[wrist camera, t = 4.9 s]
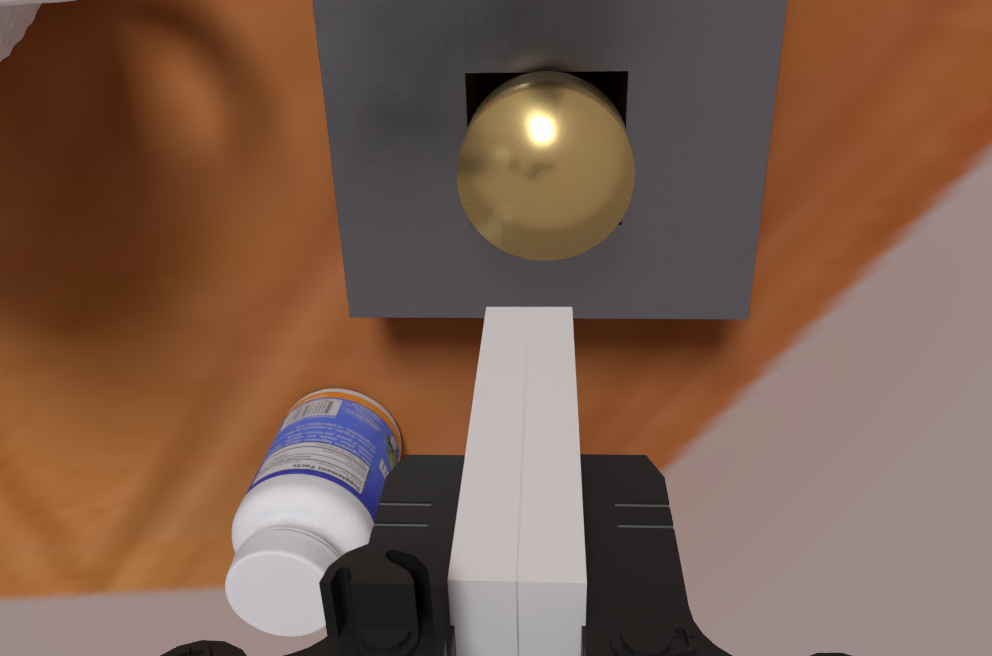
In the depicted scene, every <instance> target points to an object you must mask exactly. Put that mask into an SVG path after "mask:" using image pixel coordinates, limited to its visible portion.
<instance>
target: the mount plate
mask: <svg viewBox="0 0 992 656" xmlns="http://www.w3.org/2000/svg"><path fill="white" fill-rule="evenodd" d="M313 9H314V17H315V26H316V34H317V43H318V51H319V60H320V68H321V77H322V85H323V93H324V102H325V110H326V119H327V127H328V136H329V144H330V153H331V161H332V170H333V178H334V187H335V195H336V204H337V212H338V221H339V229H340V238H341V246H342V255H343V263H344V272H345V280H346V289H347V297H348V306H349V314H350V317H380V318H485V311H486V307H572V311H573V319H748V314H749V306H750V298H751V290H752V282H753V274H754V266H755V258H756V250H757V242H758V234H759V226H760V218H761V210H762V201H763V193H764V185H765V177H766V169H767V161H768V153H769V145H770V137H771V129H772V121H773V113H774V105H775V97H776V89H777V81H778V73H779V65H780V57H781V49H782V41H783V33H784V25H785V17H786V9H787V0H313ZM540 71H555V72H587V71H619V82H618V107H617V110H618V112H619V114H620V116H621V118H622V120H623V122H624V125H625V129H626V132H627V136H628V139H629V143H630V147H631V151H632V155H633V160H634V166H635V181H634V190H633V194H632V197H631V201H630V203H629V206H628V208H627V211H626V213H625V214H624V216H623V218H622V220H621V221H620V223H619V224H618V225H617V227H616V228H615V229H614V230H613V231H612V232H611V233H610V234H609V235H608V236H607V237H606V238H605V239H604V240H603V241H601V242H600V243H599V244H598V245H596V246H594V247H593V248H591V249H589V250H588V251H585V252H583V253H581V254H579V255H576V256H573V257H569V258H565V259H560V260H551V261H539V260H530V259H525V258H521V257H518V256H514V255H512V254H509V253H507V252H505V251H503V250H501V249H499V248H498V247H496V246H495V245H493V244H492V243H490V242H489V241H488V240H487V239H485V238H484V237H483V236H482V235H481V234H480V233H479V232H478V231H477V230H476V228H475V227H474V226H473V224H472V223H471V222H470V220H469V218H468V216H467V215H466V213H465V211H464V208H463V206H462V203H461V201H460V197H459V193H458V187H457V164H458V157H459V154H460V151H461V147H462V144H463V141H464V138H465V135H466V132H467V129H468V126H469V124H470V121H471V119H472V117H473V115H474V113H475V112H476V110H477V108H478V102H477V74H476V73H513V72H540Z"/></svg>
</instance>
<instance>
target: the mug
mask: <svg viewBox="0 0 992 656" xmlns="http://www.w3.org/2000/svg"><path fill="white" fill-rule="evenodd" d="M67 1H75V0H0V61H1V60H3V59H4V58H6V57H8V56H9V55H10V54H11V51H12V49H13V46H14V45H15V44H16V43H18V42H19V41H20V40H21V39H22V38H23V37H24V34H25V32H26V29H27V28H28V26H29V25H30V24H31V23H32V22H33V21H34V18H35V15H36V13H37V10H38V9H39V7H40V6H41V4H42V3H58V2H67Z"/></svg>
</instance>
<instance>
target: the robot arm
mask: <svg viewBox="0 0 992 656" xmlns="http://www.w3.org/2000/svg"><path fill="white" fill-rule="evenodd" d="M319 586H320V592H321V598H322V604H323V610H324V616H325V623H326V629H327V635H328V636H327V637H326V638H325V639H323V640H321V641H320V642H318V643H316V644H314V645H312V646H311V647H309V648H306V649H303V650H300V651H298V652H295V653H292V654H288V655H284V656H732V655H730V654H728V653H727V652H725V651H723V650H722V649H720V648H718V647H717V646H716V645H714V644H713V643H712V642H711V641H710V640H709V639H708V638H707V637H706V636H705V635H704V634H703V633H702V632H701V631H700V629H699V628H698V626H697V625H696V623H695V622H694V620H693V617H692V615H691V612H690V609H689V606H688V601H687V595H686V590H685V584H684V579H683V574H682V568H681V563H680V558H679V552H678V547H677V542H676V536H675V531H674V529H673V521H672V515H671V510H670V508H669V499H668V494H667V489H666V483H665V478H664V476H663V475H662V474H661V473H660V472H659V470H658V469H657V468H656V467H655V466H654V464H653V463H652V462H651V461H650V460H649V458H648V457H647V456H646V455H586V454H580V443H579V424H578V405H577V387H576V368H575V349H574V330H573V311H572V307H486V311H485V318H484V326H483V333H482V340H481V347H480V354H479V361H478V368H477V375H476V382H475V389H474V396H473V403H472V410H471V417H470V424H469V431H468V438H467V446H466V453H465V455H405V456H404V457H403V458H402V459H401V461H400V462H399V463H398V464H397V465H396V466H395V467H394V468H393V469H392V470H391V472H390V473H389V474H388V475H387V476H386V479H385V482H384V486H383V490H382V494H381V497H380V501H379V506H378V509H377V512H376V516H375V520H374V527H372V531H371V535H370V539H369V542H368V544H366V545H363V546H361V547H358V548H356V549H353V550H351V551H348V552H346V553H345V554H343V555H342V556H341V557H340V558H338V559H337V560H336V561H335V562H333V563H332V564H331V565H330V566H329V567H328V568H327V570H326V572H325V573H324V575H323V577H322V578H321V580H320V582H319ZM161 656H246V654H245V653H244V652H243V650H242V649H239V648H238V647H235V646H233V645H231V644H229V643H227V642H224V641H206V640H202V641H197V642H193V643H189V644H185V645H181V646H178V647H176V648H174V649H172V650H170V651H168V652H166V653H165V654H163V655H161ZM811 656H851V655H847V654H844V653H816V654H813V655H811Z"/></svg>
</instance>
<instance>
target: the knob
mask: <svg viewBox="0 0 992 656" xmlns="http://www.w3.org/2000/svg"><path fill="white" fill-rule="evenodd" d="M634 181H635V166H634V160H633V155H632V151H631V147H630V143H629V139H628V136H627V132H626V129H625V125H624V122H623V120H622V118H621V116H620V114H619V112H618V110H617V109H616V107H615V106H614V104H613V103H612V102H611V101H610V99H609V98H608V97H607V96H606V95H605V94H604V93H603V92H602V91H601V90H599V89H598V88H597V87H595V86H594V85H592V84H591V83H589V82H588V81H586V80H584V79H582V78H579V77H577V76H574V75H571V74H567V73H562V72H555V71H540V72H532V73H528V74H523V75H521V76H518V77H515V78H513V79H511V80H509V81H507V82H505V83H503V84H502V85H500V86H499V87H497V88H496V89H495V90H493V91H492V92H491V93H490V94H489V95H488V96H487V97H486V98H485V99H484V100H483V102H482V103H481V104H480V105H479V107H478V108H477V110H476V112H475V113H474V115H473V117H472V119H471V121H470V124H469V126H468V129H467V132H466V135H465V138H464V141H463V144H462V147H461V151H460V154H459V157H458V164H457V187H458V193H459V197H460V201H461V203H462V206H463V208H464V211H465V213H466V215H467V216H468V218H469V220H470V222H471V223H472V224H473V226H474V227H475V228H476V230H477V231H478V232H479V233H480V234H481V235H482V236H483V237H484V238H485V239H487V240H488V241H489V242H490V243H492V244H493V245H495V246H496V247H498V248H499V249H501V250H503V251H505V252H507V253H509V254H512V255H514V256H518V257H521V258H525V259H530V260H539V261H551V260H560V259H565V258H569V257H573V256H576V255H579V254H581V253H583V252H585V251H588V250H589V249H591V248H593V247H594V246H596V245H598V244H599V243H600V242H601V241H603V240H604V239H605V238H606V237H607V236H608V235H609V234H610V233H611V232H612V231H613V230H614V229H615V228H616V227H617V225H618V224H619V223H620V221H621V220H622V218H623V216H624V214H625V213H626V211H627V208H628V206H629V203H630V201H631V197H632V194H633V190H634Z"/></svg>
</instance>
